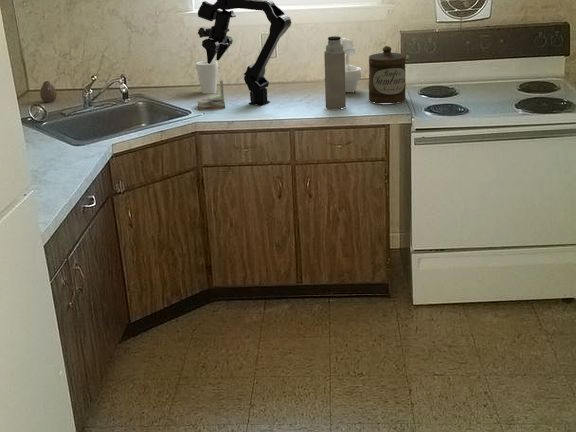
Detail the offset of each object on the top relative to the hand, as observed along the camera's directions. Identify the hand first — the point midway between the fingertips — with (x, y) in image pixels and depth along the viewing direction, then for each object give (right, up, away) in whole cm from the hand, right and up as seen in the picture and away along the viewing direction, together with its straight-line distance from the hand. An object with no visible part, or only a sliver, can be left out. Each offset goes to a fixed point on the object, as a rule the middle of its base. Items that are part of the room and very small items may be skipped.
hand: (213, 61), depth 333 cm
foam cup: (-4, -9, +23) cm, 25 cm away
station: (-1, -19, -2) cm, 19 cm away
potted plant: (+57, -11, +12) cm, 59 cm away
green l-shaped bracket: (+2, -16, -3) cm, 16 cm away
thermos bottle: (+50, -21, -11) cm, 55 cm away
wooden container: (+72, -17, -4) cm, 74 cm away
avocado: (-73, -14, +19) cm, 77 cm away
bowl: (-3, -19, -2) cm, 19 cm away
